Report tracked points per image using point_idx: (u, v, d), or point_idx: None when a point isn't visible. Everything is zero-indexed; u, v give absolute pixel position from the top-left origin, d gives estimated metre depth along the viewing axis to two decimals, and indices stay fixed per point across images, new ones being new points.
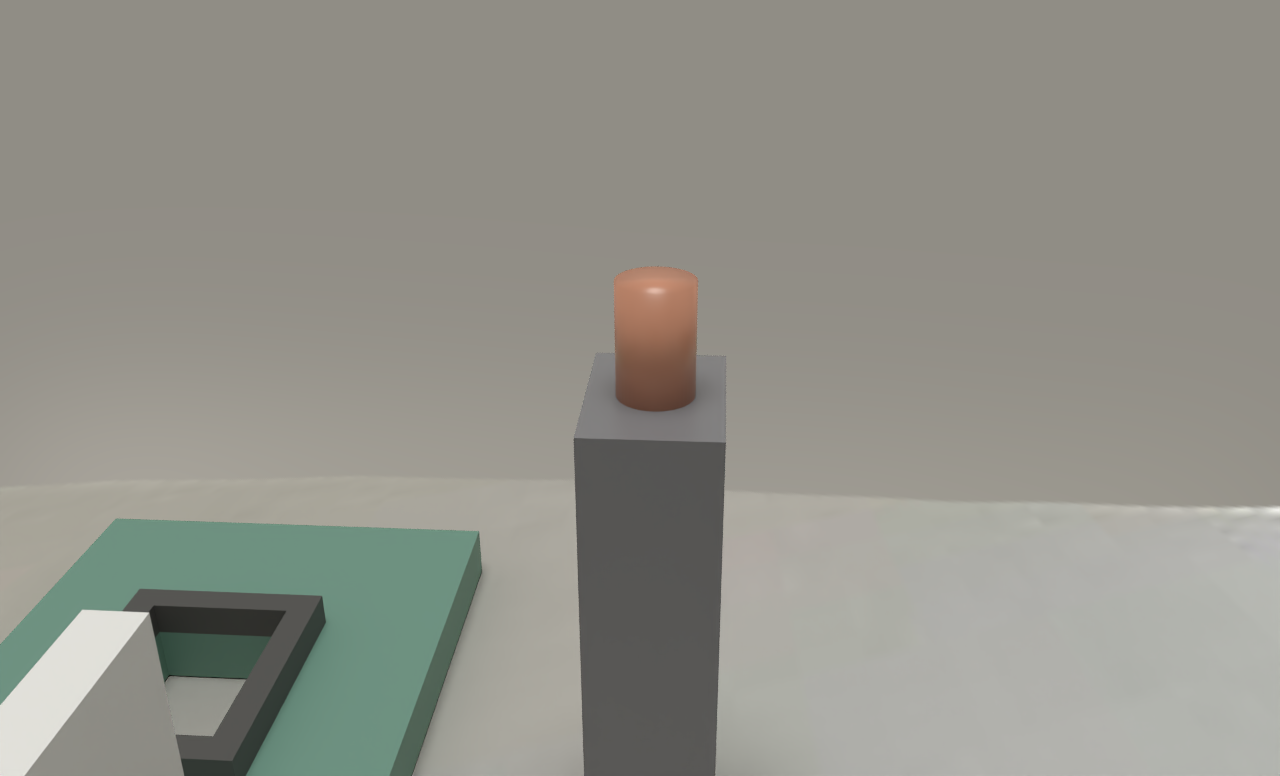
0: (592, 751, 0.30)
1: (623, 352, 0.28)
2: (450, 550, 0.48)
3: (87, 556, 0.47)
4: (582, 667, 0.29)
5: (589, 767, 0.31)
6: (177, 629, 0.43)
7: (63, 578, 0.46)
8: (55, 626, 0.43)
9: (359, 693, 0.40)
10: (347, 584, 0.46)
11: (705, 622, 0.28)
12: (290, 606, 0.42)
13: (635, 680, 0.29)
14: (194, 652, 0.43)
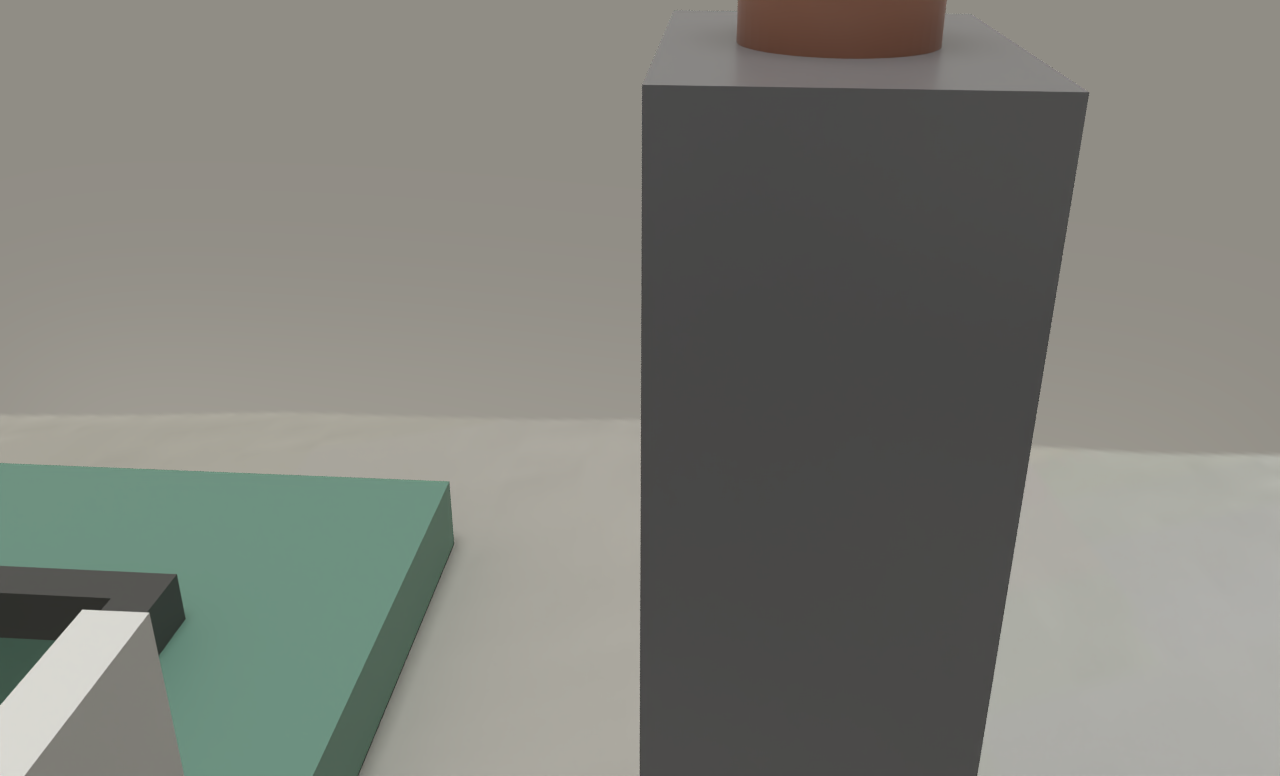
0: None
1: None
2: (402, 508, 0.30)
3: None
4: (643, 728, 0.12)
5: None
6: None
7: None
8: None
9: (220, 745, 0.22)
10: (232, 558, 0.28)
11: (964, 621, 0.11)
12: (119, 591, 0.25)
13: (771, 759, 0.12)
14: None
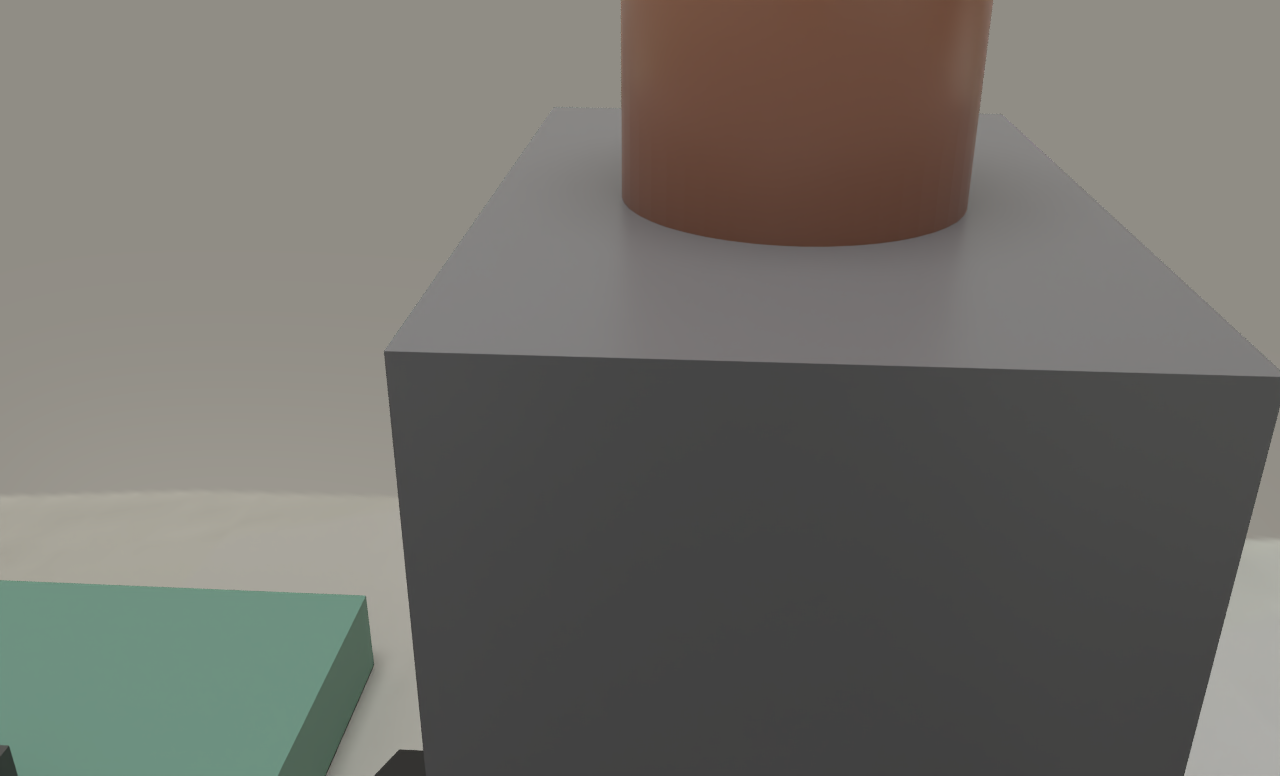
0: None
1: None
2: (307, 634, 0.26)
3: None
4: None
5: None
6: None
7: None
8: None
9: None
10: (94, 706, 0.24)
11: None
12: None
13: None
14: None
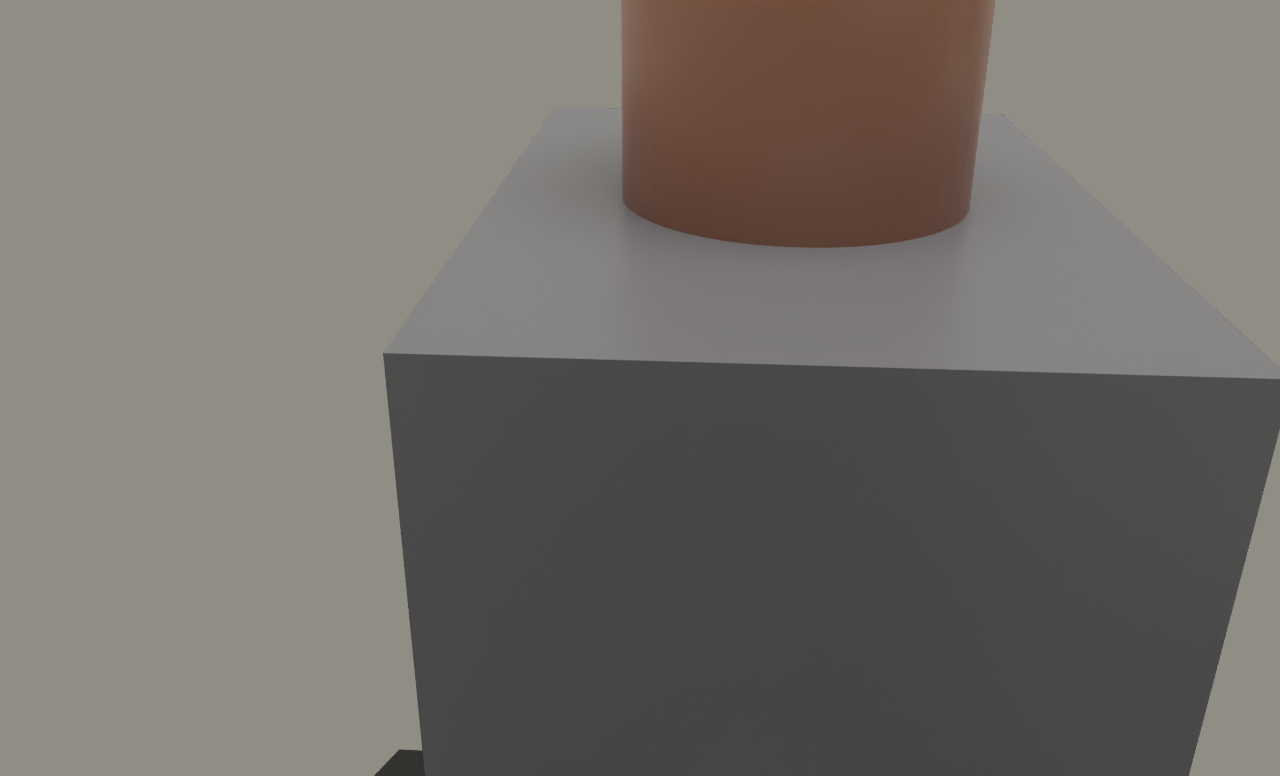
0: None
1: None
2: None
3: None
4: None
5: None
6: None
7: None
8: None
9: None
10: None
11: None
12: None
13: None
14: None
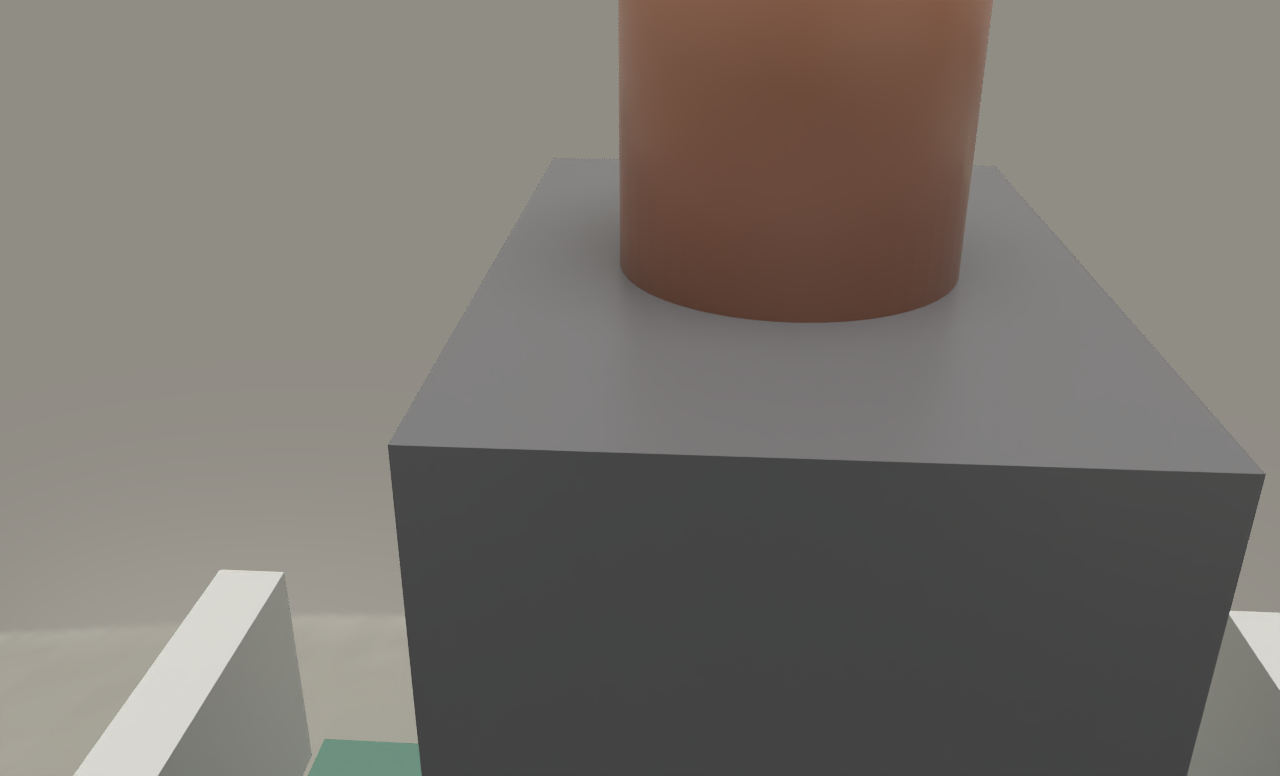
0: None
1: (659, 37, 0.06)
2: None
3: None
4: None
5: None
6: None
7: None
8: None
9: None
10: None
11: None
12: None
13: None
14: None
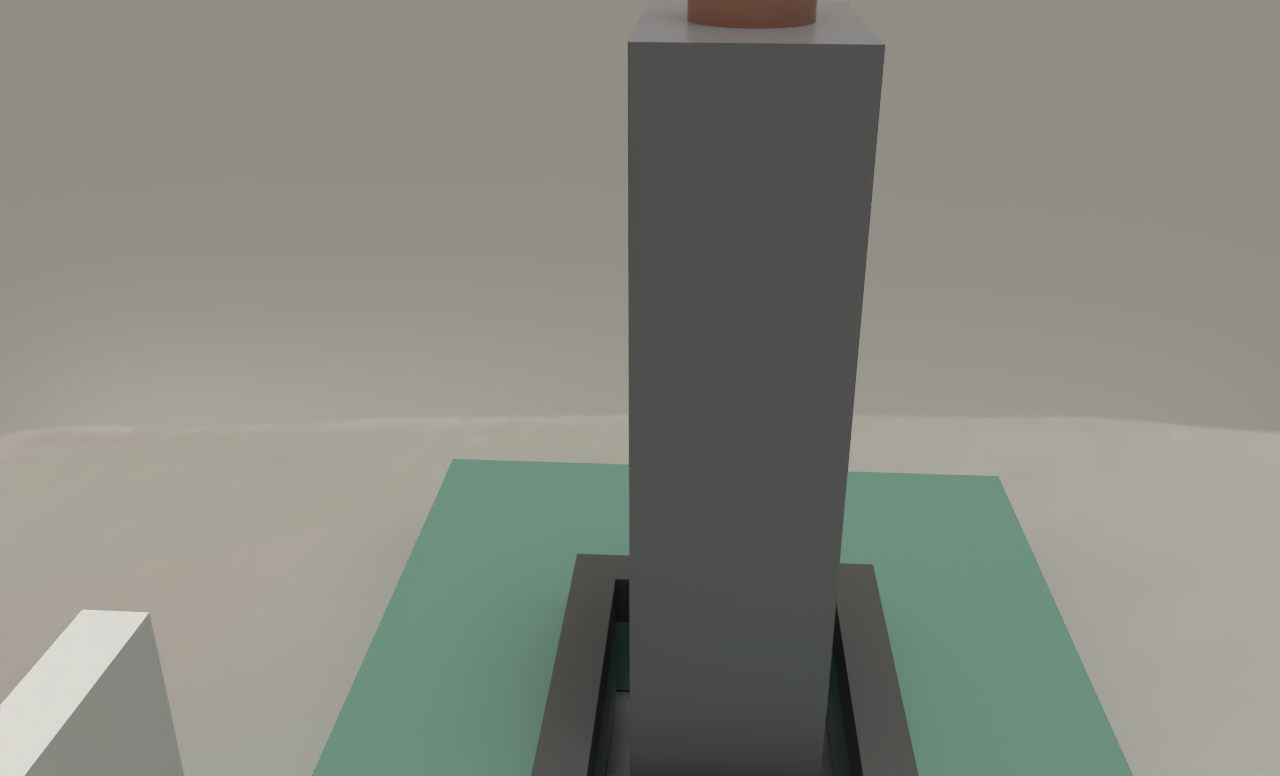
0: (642, 606, 0.20)
1: None
2: (977, 502, 0.32)
3: (439, 510, 0.32)
4: (631, 464, 0.19)
5: (637, 633, 0.20)
6: None
7: (420, 541, 0.30)
8: (445, 612, 0.27)
9: (1009, 722, 0.24)
10: (859, 549, 0.30)
11: (831, 383, 0.18)
12: None
13: (714, 484, 0.19)
14: None
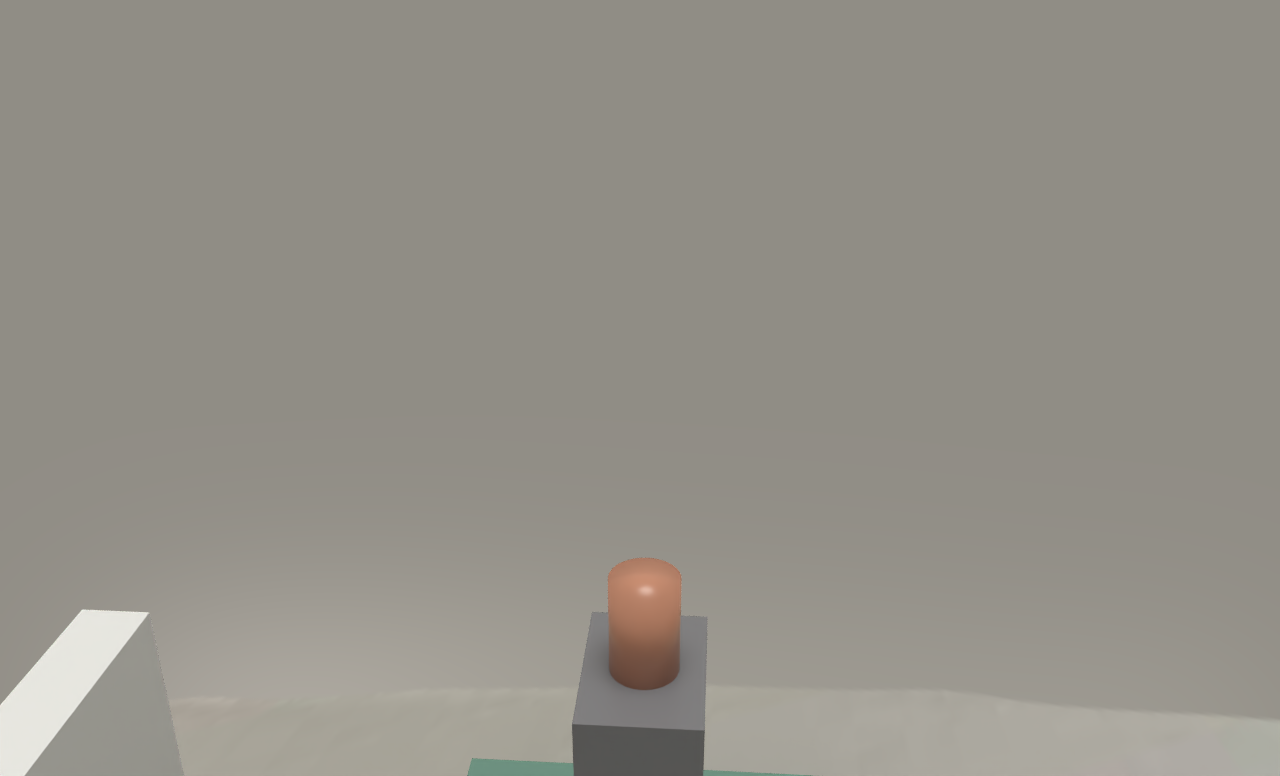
0: None
1: (616, 639, 0.31)
2: None
3: None
4: None
5: None
6: None
7: None
8: None
9: None
10: None
11: None
12: None
13: None
14: None
